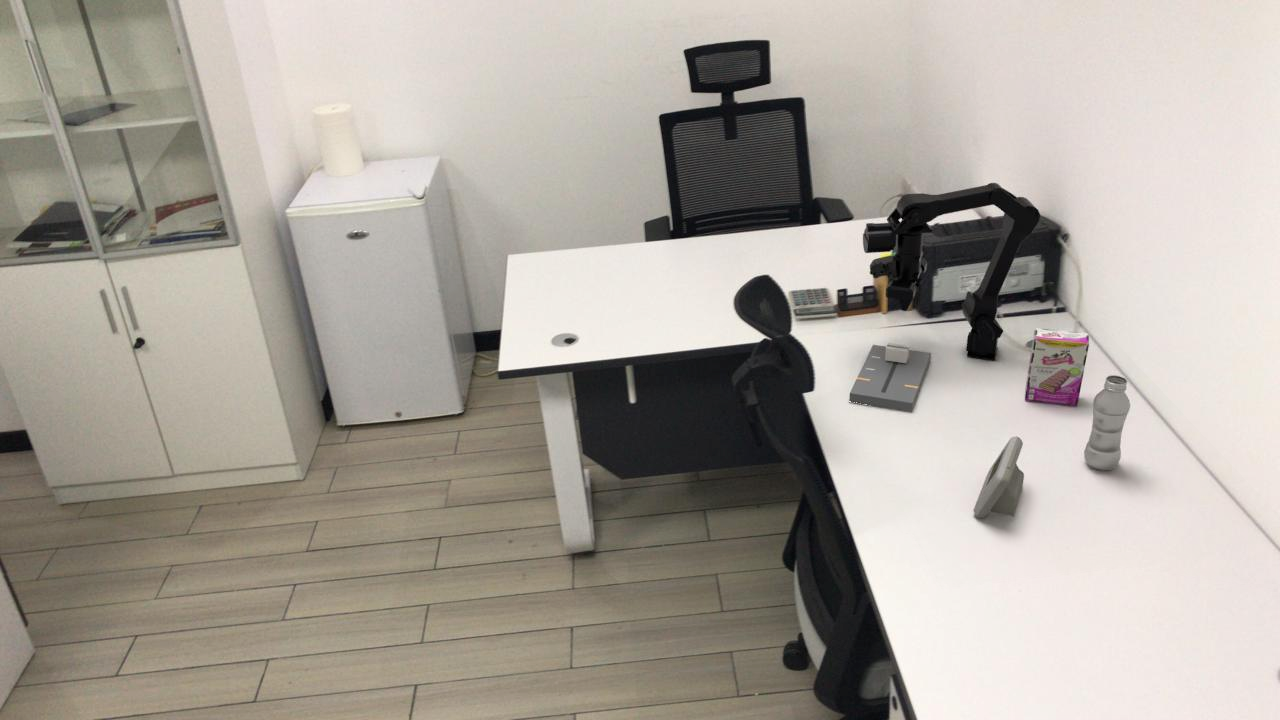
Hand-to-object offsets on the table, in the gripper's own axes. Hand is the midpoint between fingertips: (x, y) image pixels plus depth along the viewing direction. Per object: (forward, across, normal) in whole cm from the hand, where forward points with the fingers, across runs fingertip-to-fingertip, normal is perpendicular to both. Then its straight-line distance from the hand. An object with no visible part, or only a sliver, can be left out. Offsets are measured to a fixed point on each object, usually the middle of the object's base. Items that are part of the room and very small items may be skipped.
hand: (904, 310), depth 238 cm
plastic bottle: (+13, +32, +46) cm, 58 cm away
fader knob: (+10, +6, 0) cm, 12 cm away
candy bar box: (+13, +9, +35) cm, 38 cm away
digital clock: (+13, +50, +28) cm, 59 cm away
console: (+13, +12, 0) cm, 18 cm away
